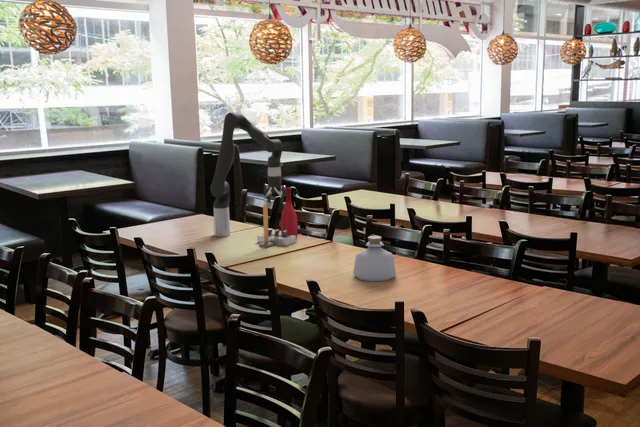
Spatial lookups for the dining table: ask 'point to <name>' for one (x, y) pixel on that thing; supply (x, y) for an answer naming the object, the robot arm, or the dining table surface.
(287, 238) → the breaker panel
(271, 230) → the paddle
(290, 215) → the wine bottle
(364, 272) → the bottle
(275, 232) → the middle paddle
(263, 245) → the orange post
